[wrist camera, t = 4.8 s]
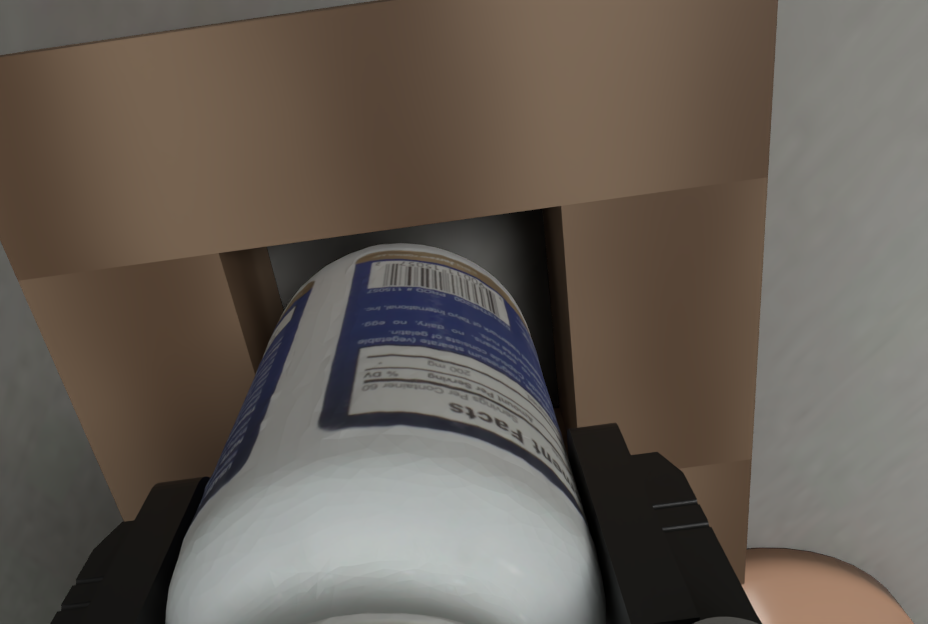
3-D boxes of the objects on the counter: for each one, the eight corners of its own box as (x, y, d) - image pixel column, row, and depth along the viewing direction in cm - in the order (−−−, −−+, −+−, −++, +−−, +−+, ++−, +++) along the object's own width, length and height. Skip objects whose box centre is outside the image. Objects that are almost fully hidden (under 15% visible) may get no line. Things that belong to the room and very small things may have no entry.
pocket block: (216, 564, 20) (182, 654, 17) (22, 51, 14) (-76, 67, 11) (701, 501, 20) (744, 584, 17) (713, -49, 14) (781, -56, 11)
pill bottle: (365, 493, 16) (294, 1093, 8) (223, 314, 14) (-107, 861, 5) (574, 394, 15) (768, 945, 7) (456, 186, 13) (513, 594, 4)
